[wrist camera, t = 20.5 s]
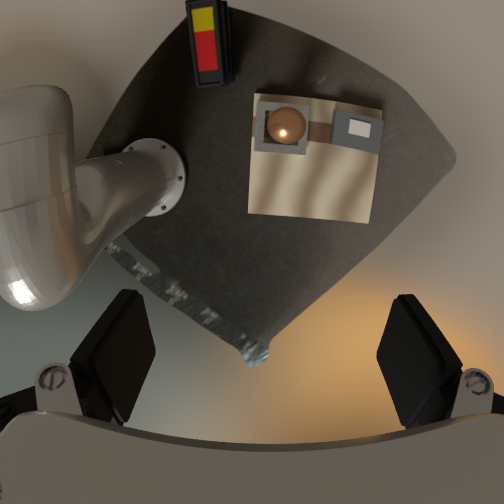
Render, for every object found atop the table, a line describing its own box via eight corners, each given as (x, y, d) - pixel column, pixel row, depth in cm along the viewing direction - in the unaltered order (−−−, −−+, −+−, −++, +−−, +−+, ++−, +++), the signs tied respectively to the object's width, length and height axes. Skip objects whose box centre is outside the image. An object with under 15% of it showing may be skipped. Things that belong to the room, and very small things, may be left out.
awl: (266, 140, 38) (266, 142, 26) (267, 114, 37) (268, 105, 25) (293, 142, 38) (305, 145, 26) (294, 116, 36) (307, 108, 25)
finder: (327, 143, 38) (332, 144, 35) (331, 110, 36) (337, 108, 33) (371, 153, 38) (379, 154, 35) (376, 121, 36) (384, 120, 33)
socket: (254, 150, 39) (253, 151, 36) (257, 103, 36) (256, 101, 34) (303, 154, 39) (305, 155, 36) (306, 107, 36) (309, 105, 33)
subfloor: (248, 211, 43) (247, 213, 43) (254, 94, 36) (254, 93, 35) (366, 221, 43) (368, 223, 42) (379, 110, 36) (382, 110, 35)
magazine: (233, 0, 29) (218, -6, 19) (238, 74, 38) (228, 102, 29) (208, 3, 29) (182, 0, 19) (215, 76, 39) (195, 105, 29)
